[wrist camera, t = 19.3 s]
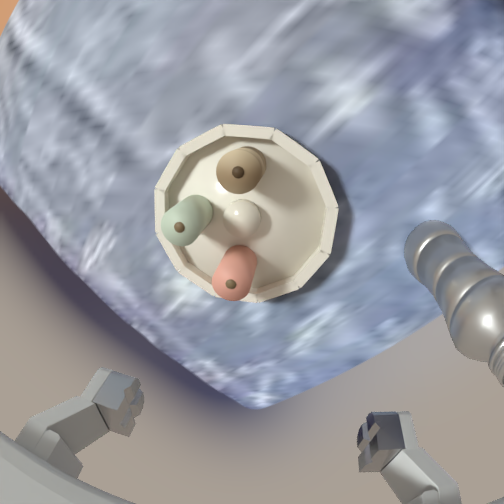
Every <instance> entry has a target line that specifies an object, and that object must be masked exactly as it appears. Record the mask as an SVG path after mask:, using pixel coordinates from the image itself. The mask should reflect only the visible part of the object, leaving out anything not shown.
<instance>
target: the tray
mask: <svg viewBox="0 0 504 504" xmlns="http://www.w3.org/2000/svg"><path fill="white" fill-rule="evenodd" d="M244 146H251V147H254V148H256V149H258V150H259V151H261V152H262V154H263V155H264V157H265V159H266V171H265V173H264V175H263V176H262V178H261V179H260V181H259V182H258V184H257V185H256V187H255V188H254V189H253V190H251V191H249V192H247V193H244V194H233V193H230V192H228V191H226V190H225V189H224V188H223V187H222V186H221V185H220V183H219V182H218V179H217V176H216V167H217V164H218V162H219V160H220V159H221V157H222V156H223V155H225V154H226V153H228V152H230V151H232V150H235V149H238V148H240V147H244ZM155 188H156V189H155V232H157V234H156V235H157V237H158V239H159V240H160V242H161V244H162V246H163V248H164V249H165V251H166V253H167V255H168V256H169V258H170V260H171V262H172V263H173V265H174V267H175V269H176V270H177V271H178V270H180V271H179V272H178V273H180V274H181V275H183V276H184V277H186V278H187V279H189V280H190V281H191V282H193V283H194V284H196V285H197V286H199V287H200V288H202V289H203V290H205V291H206V292H208V293H209V294H211V295H212V296H214V295H215V297H219V298H221V297H220V296H219V295H218V294H217V293H216V292H215V291H214V289H213V286H212V277H213V275H214V273H215V271H216V269H217V267H218V265H219V263H220V262H221V260H222V258H223V256H224V254H225V252H226V251H227V250H228V249H229V248H230V247H232V246H236V245H242V246H246V247H248V248H250V249H251V250H252V251H253V252H254V253H255V255H256V257H257V266H256V270H255V274H254V277H253V281H252V284H251V288H250V291H249V293H248V295H247V296H246V297H244V298H243V299H241V300H240V301H247V302H254V303H257V301H258V302H259V303H260V302H263V301H266V300H269V299H272V298H275V297H278V296H281V295H284V294H287V293H289V292H292V291H295V290H298V289H299V287H300V288H301V287H302V286H303V285H304V284H305V283H306V282H307V281H308V280H309V278H310V277H311V276H312V275H313V274H314V273H315V272H316V271H317V270H318V268H319V267H320V266H321V265H322V264H323V263H324V262H325V261H326V259H327V258H328V257H329V256H330V255H329V254H331V249H332V244H333V239H334V233H335V227H336V222H337V216H338V210H339V208H338V204H337V202H336V199H335V196H334V194H333V191H332V189H331V186H330V184H329V182H328V179H327V177H326V174H325V172H324V170H323V167H322V165H321V162H320V160H318V158H317V157H316V156H314V155H313V154H312V153H310V152H309V151H308V150H306V149H305V148H304V147H302V146H301V145H300V144H299V143H297V142H296V141H294V140H293V139H291V138H290V137H288V136H287V135H286V134H284V133H283V132H281V131H280V130H278V129H276V130H275V128H272V127H261V126H248V125H232V124H223V125H219V126H217V127H215V128H213V129H211V130H209V131H207V132H206V133H204V134H202V135H200V136H198V137H196V138H194V139H192V140H191V141H189V142H187V143H185V144H183V145H182V146H180V147H179V148H178V149H177V150H176V151H175V153H174V155H173V157H172V158H171V160H170V162H169V163H168V165H167V167H166V169H165V170H164V172H163V174H162V176H161V178H160V179H159V181H158V183H157V185H156V187H155ZM190 195H201V196H203V197H205V198H206V199H208V200H209V202H210V203H211V205H212V207H213V218H212V220H211V222H210V223H209V224H208V226H207V227H206V228H205V229H204V230H203V232H202V233H201V234H200V235H199V236H198V238H197V239H196V240H195V241H194V242H193V243H192V244H190V245H188V246H177V245H174V244H172V243H170V242H169V241H168V240H167V239H166V238H165V236H164V235H163V233H162V230H161V220H162V217H163V215H164V214H165V213H166V212H167V211H168V210H169V209H171V208H172V207H173V206H175V205H176V204H178V203H179V202H180V201H182V200H183V199H185V198H186V197H188V196H190Z"/></svg>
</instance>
